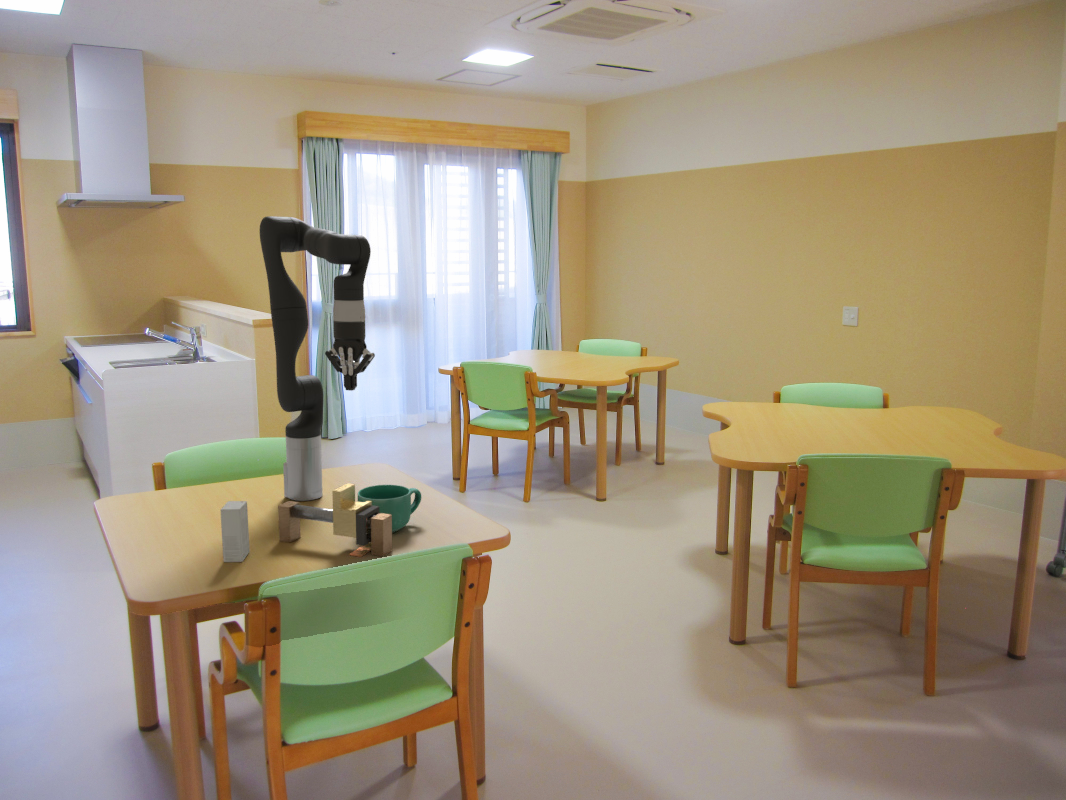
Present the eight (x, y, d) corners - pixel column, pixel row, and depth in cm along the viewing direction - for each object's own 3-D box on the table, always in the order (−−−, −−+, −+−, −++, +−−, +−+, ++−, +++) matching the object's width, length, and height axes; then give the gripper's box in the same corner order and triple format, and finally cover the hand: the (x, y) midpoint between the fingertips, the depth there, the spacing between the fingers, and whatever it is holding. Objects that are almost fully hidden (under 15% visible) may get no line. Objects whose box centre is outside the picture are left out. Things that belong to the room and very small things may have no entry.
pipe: (274, 543, 187) (272, 508, 185) (294, 532, 194) (293, 498, 193) (379, 559, 178) (378, 522, 177) (396, 547, 186) (395, 511, 184)
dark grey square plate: (356, 544, 180) (355, 514, 179) (372, 534, 187) (371, 505, 185) (364, 545, 180) (363, 515, 178) (379, 535, 186) (379, 506, 185)
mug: (371, 541, 190) (371, 502, 188) (349, 526, 199) (348, 489, 198) (434, 528, 199) (434, 491, 197) (410, 515, 209) (410, 479, 207)
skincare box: (230, 552, 181) (227, 500, 179) (250, 552, 181) (247, 500, 179) (222, 562, 175) (219, 509, 173) (242, 562, 175) (240, 509, 173)
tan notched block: (332, 535, 182) (331, 491, 180) (348, 525, 188) (348, 483, 186) (356, 538, 180) (355, 494, 178) (371, 528, 186) (371, 485, 185)
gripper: (316, 318, 194) (318, 390, 198) (365, 321, 190) (366, 394, 193) (333, 316, 202) (335, 385, 205) (381, 319, 197) (382, 389, 201)
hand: (350, 389), depth 199 cm, fingers closed
